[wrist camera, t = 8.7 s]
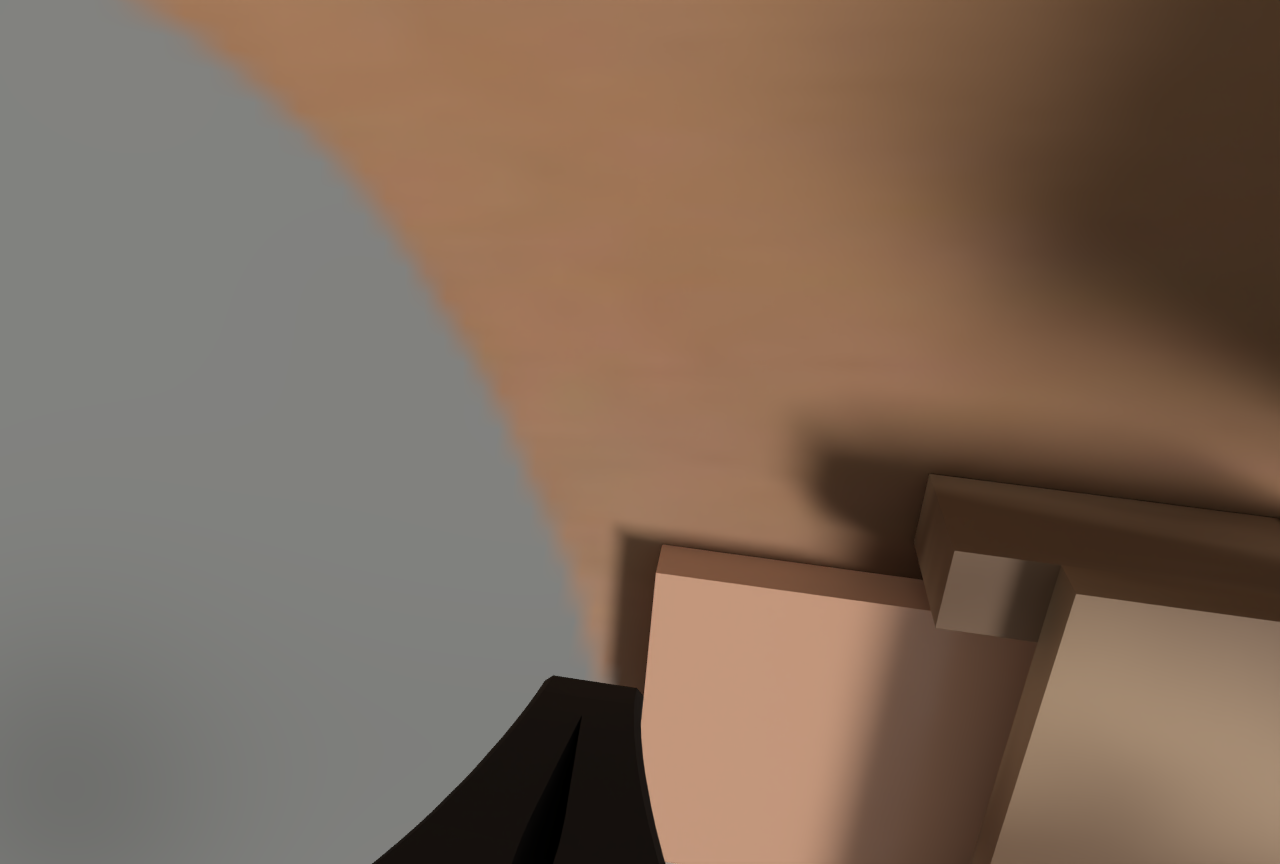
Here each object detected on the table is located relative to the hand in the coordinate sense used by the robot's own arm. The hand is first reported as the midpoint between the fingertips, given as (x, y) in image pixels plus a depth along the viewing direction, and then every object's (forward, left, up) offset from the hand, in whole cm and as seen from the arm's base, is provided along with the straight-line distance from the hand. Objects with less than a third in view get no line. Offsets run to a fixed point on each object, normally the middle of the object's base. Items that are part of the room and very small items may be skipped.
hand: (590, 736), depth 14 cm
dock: (-7, -10, -9) cm, 15 cm away
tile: (-7, -6, -10) cm, 14 cm away
